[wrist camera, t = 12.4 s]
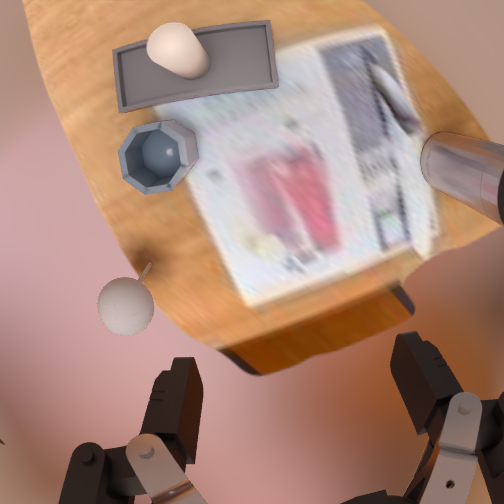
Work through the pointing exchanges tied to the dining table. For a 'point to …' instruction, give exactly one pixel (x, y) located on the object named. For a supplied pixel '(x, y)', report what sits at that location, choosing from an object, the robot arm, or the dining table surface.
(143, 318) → the lollipop
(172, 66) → the peg
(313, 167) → the dining table surface
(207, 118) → the dining table surface
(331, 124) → the dining table surface
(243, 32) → the tray
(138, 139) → the grey octagonal collar
